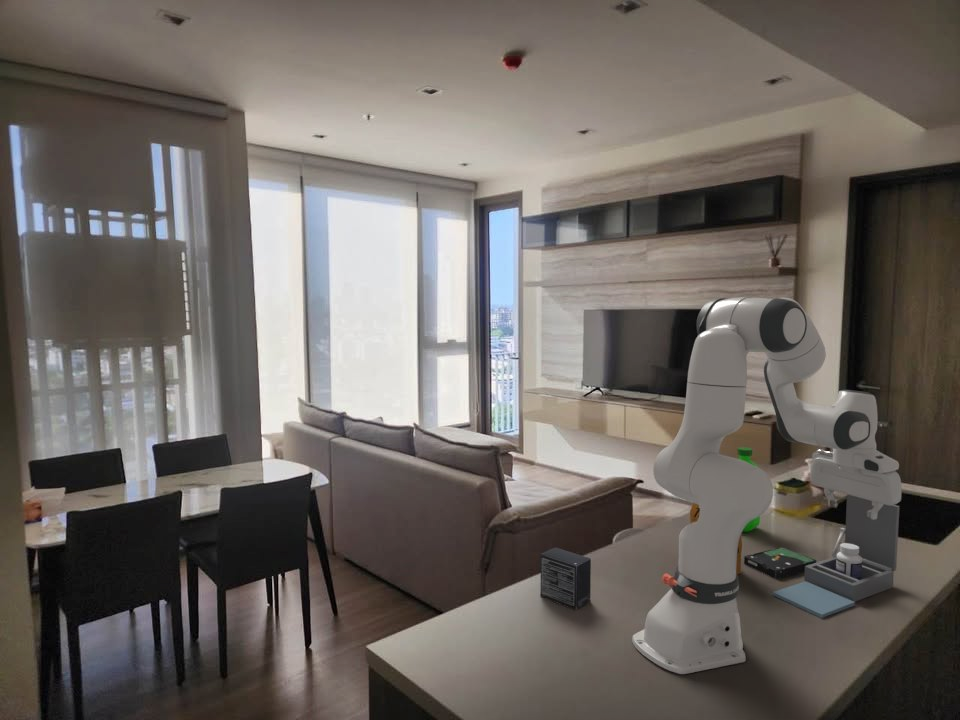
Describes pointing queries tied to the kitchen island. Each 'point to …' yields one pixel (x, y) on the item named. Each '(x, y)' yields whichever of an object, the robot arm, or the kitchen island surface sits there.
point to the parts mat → (814, 599)
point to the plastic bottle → (745, 456)
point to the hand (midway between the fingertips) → (851, 512)
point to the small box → (565, 577)
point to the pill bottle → (849, 561)
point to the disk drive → (778, 562)
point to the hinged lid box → (862, 552)
